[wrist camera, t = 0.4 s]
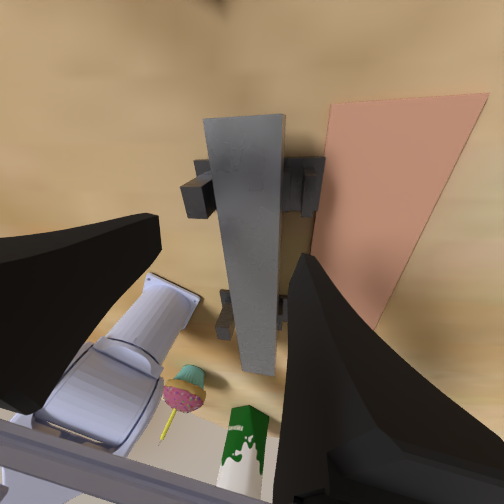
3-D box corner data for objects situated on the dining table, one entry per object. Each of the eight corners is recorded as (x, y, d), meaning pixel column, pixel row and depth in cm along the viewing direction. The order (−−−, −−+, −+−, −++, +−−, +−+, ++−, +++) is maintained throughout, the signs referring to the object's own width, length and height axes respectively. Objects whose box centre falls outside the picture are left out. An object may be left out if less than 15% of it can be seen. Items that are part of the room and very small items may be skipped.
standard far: (301, 320, 27) (302, 356, 23) (224, 310, 29) (213, 342, 25) (304, 297, 24) (306, 333, 20) (220, 289, 26) (207, 320, 22)
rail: (277, 345, 27) (274, 376, 24) (248, 341, 28) (242, 371, 24) (285, 115, 12) (282, 113, 9) (225, 119, 13) (202, 119, 10)
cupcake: (199, 382, 46) (173, 454, 36) (168, 365, 43) (132, 437, 34) (220, 374, 41) (196, 454, 31) (186, 355, 39) (150, 433, 29)
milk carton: (251, 420, 54) (232, 551, 37) (226, 407, 51) (194, 540, 35) (274, 417, 49) (264, 564, 33) (248, 402, 47) (223, 553, 30)
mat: (365, 343, 27) (366, 345, 27) (298, 334, 29) (298, 336, 28) (484, 93, 12) (490, 92, 12) (330, 104, 14) (331, 104, 13)
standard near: (317, 209, 18) (324, 235, 14) (204, 206, 20) (181, 229, 16) (325, 156, 15) (335, 169, 11) (195, 159, 17) (165, 171, 13)
